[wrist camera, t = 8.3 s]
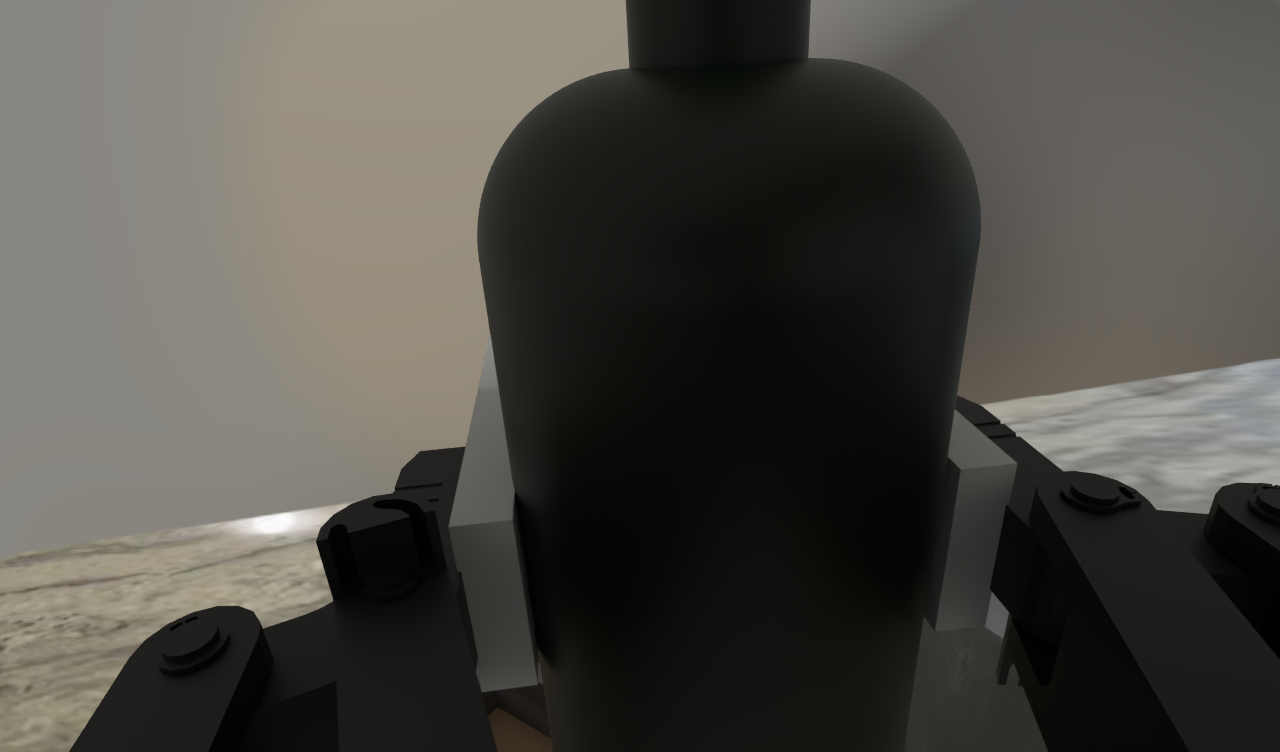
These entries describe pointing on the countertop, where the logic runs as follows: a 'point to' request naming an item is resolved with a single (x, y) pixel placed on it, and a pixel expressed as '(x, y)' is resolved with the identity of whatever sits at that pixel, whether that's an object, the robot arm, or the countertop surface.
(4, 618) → the countertop surface
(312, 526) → the countertop surface
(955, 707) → the flask
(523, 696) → the crate
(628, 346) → the wine bottle
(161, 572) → the countertop surface
